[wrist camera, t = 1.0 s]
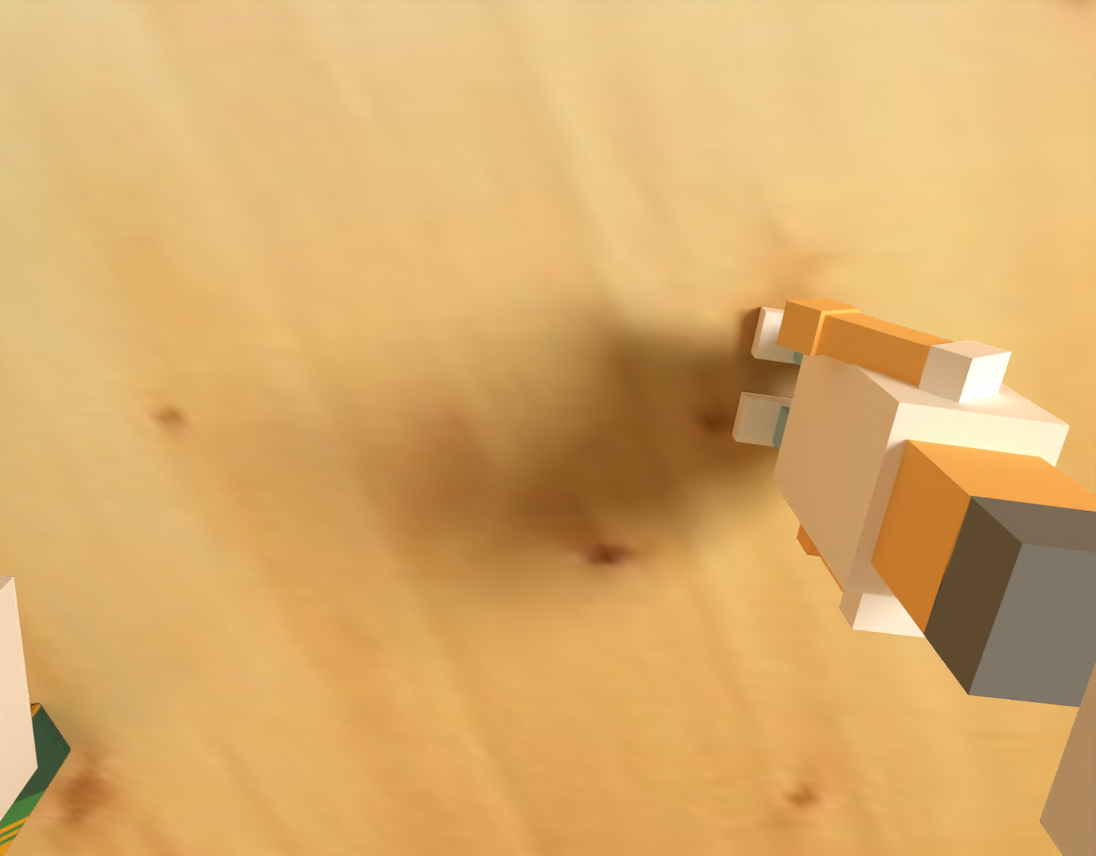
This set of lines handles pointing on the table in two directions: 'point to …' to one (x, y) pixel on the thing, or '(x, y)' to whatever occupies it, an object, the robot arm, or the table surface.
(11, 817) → the crayon box
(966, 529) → the character figure
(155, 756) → the table surface
